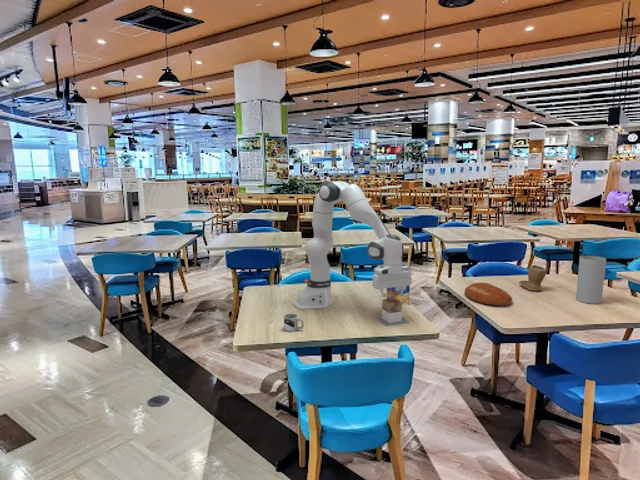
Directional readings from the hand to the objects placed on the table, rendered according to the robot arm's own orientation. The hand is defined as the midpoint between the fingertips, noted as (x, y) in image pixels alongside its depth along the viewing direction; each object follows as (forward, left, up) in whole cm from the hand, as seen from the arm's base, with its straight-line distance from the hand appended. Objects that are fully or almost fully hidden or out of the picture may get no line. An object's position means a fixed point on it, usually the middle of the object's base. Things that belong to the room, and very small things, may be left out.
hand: (392, 295), depth 207 cm
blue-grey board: (0, 0, -14) cm, 14 cm away
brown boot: (+111, +20, -14) cm, 114 cm away
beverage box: (+17, +24, -14) cm, 33 cm away
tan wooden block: (0, 0, -8) cm, 8 cm away
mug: (-48, +9, -14) cm, 51 cm away
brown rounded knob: (0, 0, -3) cm, 3 cm away
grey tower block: (0, 0, -13) cm, 13 cm away
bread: (+71, +14, -15) cm, 73 cm away
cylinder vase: (+121, -10, -14) cm, 122 cm away
